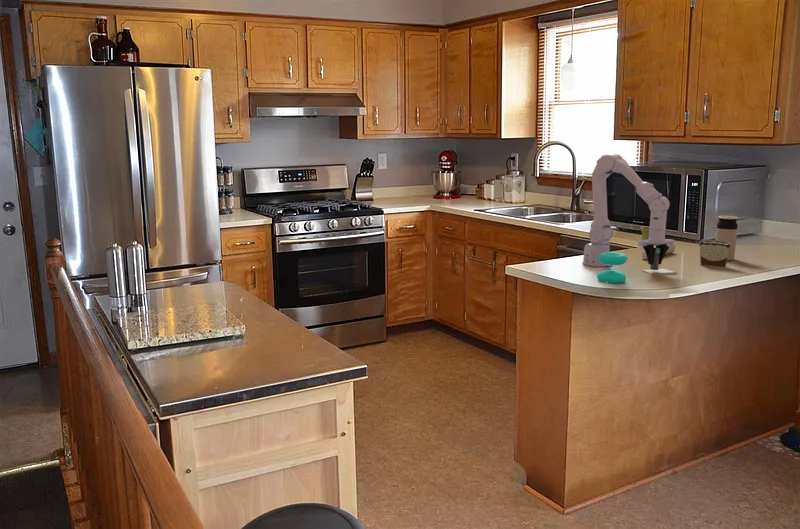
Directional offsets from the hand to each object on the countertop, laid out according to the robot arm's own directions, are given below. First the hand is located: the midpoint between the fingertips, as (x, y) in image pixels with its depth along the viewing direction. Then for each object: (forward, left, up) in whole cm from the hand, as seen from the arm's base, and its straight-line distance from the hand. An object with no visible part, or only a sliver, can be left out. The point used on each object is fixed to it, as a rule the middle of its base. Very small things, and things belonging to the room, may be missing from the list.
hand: (654, 264), depth 273 cm
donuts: (-25, -9, -4) cm, 27 cm away
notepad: (+2, 0, -3) cm, 4 cm away
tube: (+23, +30, -4) cm, 38 cm away
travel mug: (+47, +19, -4) cm, 51 cm away
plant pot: (+35, +53, -4) cm, 63 cm away
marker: (0, 0, -2) cm, 2 cm away
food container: (+33, +8, -4) cm, 35 cm away
